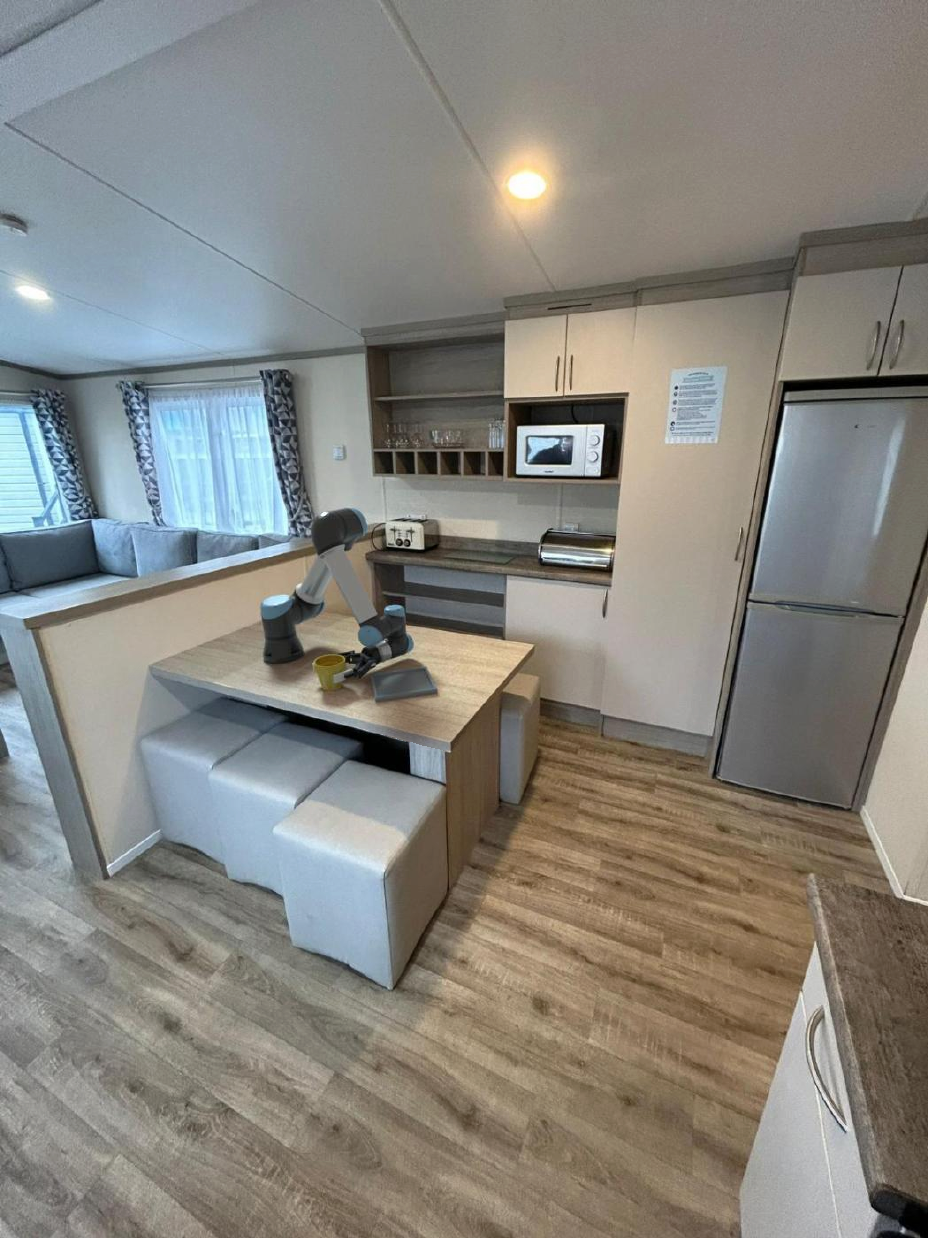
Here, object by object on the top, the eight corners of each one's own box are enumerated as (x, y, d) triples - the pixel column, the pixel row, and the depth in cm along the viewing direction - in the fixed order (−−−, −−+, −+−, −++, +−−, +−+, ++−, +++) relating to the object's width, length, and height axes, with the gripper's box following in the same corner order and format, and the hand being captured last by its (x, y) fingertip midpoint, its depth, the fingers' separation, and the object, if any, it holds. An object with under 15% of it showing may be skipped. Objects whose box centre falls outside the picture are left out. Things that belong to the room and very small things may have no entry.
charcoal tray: (375, 702, 153) (375, 697, 153) (370, 678, 170) (370, 673, 169) (437, 693, 158) (436, 688, 158) (426, 671, 175) (426, 666, 174)
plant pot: (353, 681, 168) (351, 655, 164) (337, 695, 159) (333, 668, 155) (328, 677, 171) (325, 652, 168) (310, 691, 162) (306, 664, 159)
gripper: (398, 673, 168) (345, 695, 154) (357, 654, 185) (306, 672, 170) (396, 653, 166) (342, 674, 151) (355, 636, 182) (303, 652, 168)
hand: (323, 673), depth 161 cm, fingers open, 13 cm apart
